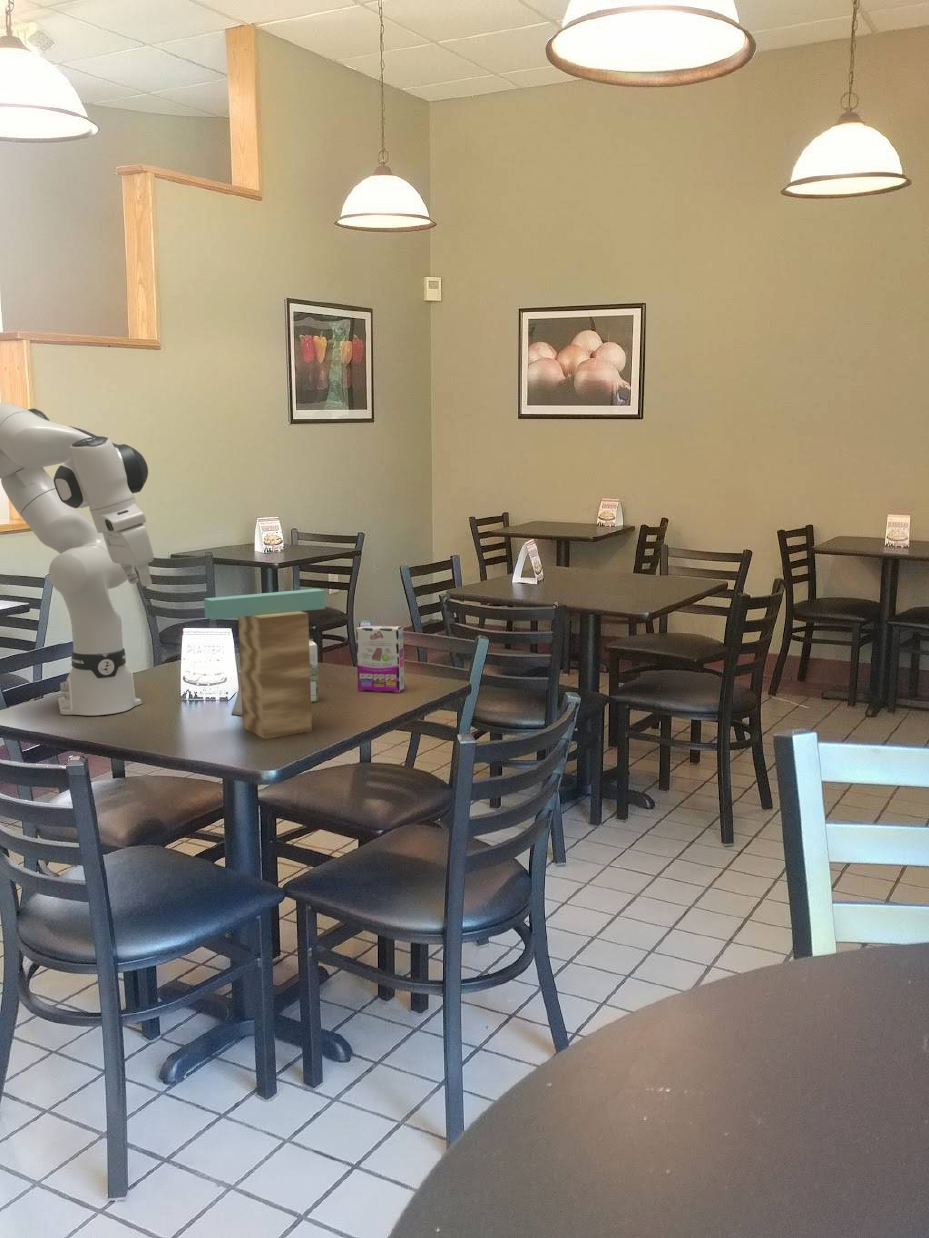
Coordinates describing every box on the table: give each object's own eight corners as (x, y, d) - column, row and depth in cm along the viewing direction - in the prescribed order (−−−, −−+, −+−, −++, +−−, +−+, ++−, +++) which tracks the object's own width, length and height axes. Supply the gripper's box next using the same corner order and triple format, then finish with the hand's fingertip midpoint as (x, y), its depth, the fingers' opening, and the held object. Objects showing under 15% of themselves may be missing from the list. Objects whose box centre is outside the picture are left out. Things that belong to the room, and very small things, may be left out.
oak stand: (242, 727, 242) (238, 611, 237) (288, 719, 248) (284, 606, 244) (264, 739, 232) (260, 618, 228) (311, 731, 238) (308, 613, 234)
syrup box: (311, 697, 270) (309, 639, 268) (319, 702, 265) (317, 643, 262) (289, 699, 267) (287, 641, 265) (296, 704, 262) (294, 645, 260)
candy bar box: (405, 689, 278) (404, 625, 275) (399, 693, 273) (398, 629, 270) (363, 687, 280) (362, 624, 278) (357, 691, 276) (355, 627, 273)
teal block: (204, 617, 229) (204, 598, 229) (317, 606, 244) (316, 588, 243) (211, 619, 226) (211, 600, 225) (325, 608, 240) (324, 590, 240)
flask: (255, 717, 251) (254, 674, 249) (226, 715, 252) (224, 673, 250) (267, 709, 258) (266, 668, 256) (238, 708, 259) (237, 667, 257)
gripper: (89, 522, 222) (112, 586, 226) (114, 523, 205) (139, 592, 209) (119, 513, 225) (141, 576, 229) (146, 513, 208) (170, 581, 211)
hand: (140, 584), depth 219 cm, fingers open, 8 cm apart
